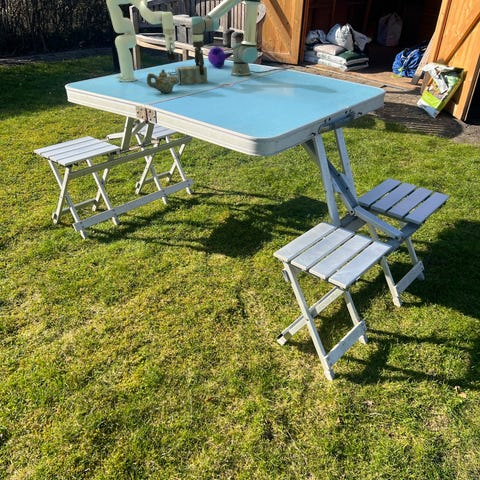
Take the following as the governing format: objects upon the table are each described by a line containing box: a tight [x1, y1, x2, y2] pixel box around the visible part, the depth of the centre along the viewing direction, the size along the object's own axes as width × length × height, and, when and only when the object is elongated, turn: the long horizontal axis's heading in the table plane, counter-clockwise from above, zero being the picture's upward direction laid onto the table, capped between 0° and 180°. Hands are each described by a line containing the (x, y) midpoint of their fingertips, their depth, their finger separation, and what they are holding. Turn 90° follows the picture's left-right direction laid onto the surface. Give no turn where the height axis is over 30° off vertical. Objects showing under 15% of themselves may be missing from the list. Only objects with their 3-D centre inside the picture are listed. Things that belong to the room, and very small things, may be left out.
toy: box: [207, 46, 233, 69], centre depth 382 cm, size 16×18×27 cm
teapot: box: [146, 68, 179, 94], centre depth 299 cm, size 21×12×15 cm, turn 109°
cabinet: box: [176, 65, 208, 86], centre depth 328 cm, size 19×10×11 cm, turn 109°
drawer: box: [167, 68, 181, 85], centre depth 326 cm, size 24×9×9 cm, turn 109°
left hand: (171, 58), depth 318 cm, fingers open, 8 cm apart
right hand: (200, 73), depth 329 cm, fingers closed on cabinet, 10 cm apart
